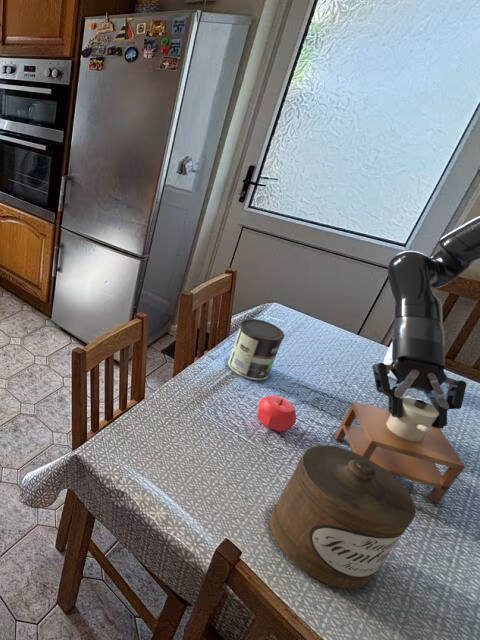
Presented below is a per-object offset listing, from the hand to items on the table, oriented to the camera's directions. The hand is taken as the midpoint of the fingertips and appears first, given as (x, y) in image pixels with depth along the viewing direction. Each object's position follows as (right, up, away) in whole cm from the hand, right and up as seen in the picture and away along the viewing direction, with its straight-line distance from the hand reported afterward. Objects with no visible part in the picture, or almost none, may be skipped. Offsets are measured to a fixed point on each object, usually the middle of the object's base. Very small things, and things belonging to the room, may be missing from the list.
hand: (417, 422), depth 83 cm
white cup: (+32, 0, +35) cm, 47 cm away
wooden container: (-26, -21, -6) cm, 34 cm away
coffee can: (-9, 0, +37) cm, 38 cm away
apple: (-15, -8, +19) cm, 26 cm away
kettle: (0, -4, +2) cm, 4 cm away
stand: (+1, -13, +8) cm, 16 cm away
